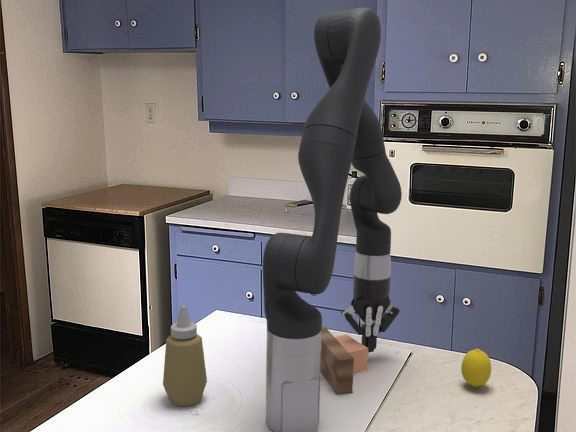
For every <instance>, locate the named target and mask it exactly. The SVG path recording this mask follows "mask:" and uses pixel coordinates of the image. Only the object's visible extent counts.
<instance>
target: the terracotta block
mask: <svg viewBox="0 0 576 432" xmlns="http://www.w3.org/2000/svg"><path fill="white" fill-rule="evenodd" d="M334 337H335V338H336V339H337V340H338V342H339V343H340V344H341V345H342V346H343V347H344V348H345V349H346V350H347V352H348V353H349V354H350V355H351V356H352V357H353V358H354V365H353V375H354V374H357V373H361V372H366V371H368V366H369V365H368V361H369V360H368V359H369V352H368V348H367V347H366V346H364V345H362V342H359V341H358V340H356V339H354V338H353V337H352V336H350V335H348V334H342V335H341V334H340V335H337V336H336V335H335V336H334Z"/></svg>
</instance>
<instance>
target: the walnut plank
mask: <svg viewBox="0 0 576 432" xmlns="http://www.w3.org/2000/svg"><path fill="white" fill-rule="evenodd" d="M335 337H336V336H334V335H333V333H332V332H330V331H329V329H328V328H327V327H326V326H322V337H321V369H320V374H322V376H323V378H325V380H326V381H327V382H328V384H329V385H330V387H331V388H332V389H333V390H334V392H335V394H336V395H344V394H352V393H353V388H354V387H353V384H354V374H353V365H354V358H353V357H352V356H351V355H350V354H349V353H348V352H347V350H346V349H345V348H344V347H343V346H342V345H341V344H340V343H339V342H338V340H337V339H336V338H335Z"/></svg>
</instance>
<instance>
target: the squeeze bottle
mask: <svg viewBox="0 0 576 432" xmlns="http://www.w3.org/2000/svg"><path fill="white" fill-rule="evenodd" d="M197 328H198V326H197V324H196V323H195V322H192V321H191V319H190V315H189V311H188V306H187V305H181V306H179V311H178V316H177V320H176V322H175V323H173V324H172V325H171V326H170V335H169V336H168V337H167V338H166V340H165V349H164V350H165V352H164V365H163V376H162V377H163V378H162V386H163V388H164V390H165V393H166V396H167V398H168V401H169V402H170V403H171V404H172V405H175V406H179V407H187V406H194V405H196V404H198V402H200V401H201V399H202V397H203V395H204V392H205V388H206V385H207V383H208V378H207V377H208V376H207V369H206V362H205V353H204V346H203V337H202V336H200V335H199V334H198V331H197V330H198V329H197Z"/></svg>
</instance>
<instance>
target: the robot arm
mask: <svg viewBox="0 0 576 432" xmlns="http://www.w3.org/2000/svg"><path fill="white" fill-rule="evenodd" d="M381 37H382V28H381V21H380V18H379V15H378V14H377V12H376V11H375V10H374V9H373V8H369V7H356V8H349V9H344V10H338V11H333V12H328V13H324V14H322V15H320V16H319V17H318V18H317V20H316V22H315V25H314V29H313V39H314V40H313V41H314V46H315V49H316V54H317V56H318V60H319V63H320V66H321V69H322V71H323V74H324V77H325V79H326V83H327V85H328V88H329V90H328V91H327V92H326V93H325V94H324V95H323V96H322V98H321V99H320V100H319V102H317V104H316V105H315V107H314V108H313V109H312V110H311V112H310V113H309V115H308V117H307V119H306V121H305V123H304V126H303V130H302V136H301V139H300V140H301V141H300V144H299V149H298V153H297V158H298V165H299V168H300V172H301V175H302V177H303V180H304V182H305V184H306V187H307V189H308V193H309V194H310V197H311V200H312V204H313V205H312V206H313V210H314V222H313V223H314V225H313V230H312V235H304V234H299V233H298V234H297V233H290V232H289V233H288V232H276V233H273V234H272V235H271V236H270V237H269V239H267V242H266V244H265V247H264V251H263V256H262V284H263V285H262V286H263V307H264V308H263V309H264V315H265V320H266V354H265V355H266V356H265V357H266V359H265V360H266V362H265V363H266V367H265V368H266V370H265V371H266V375H265V376H266V377H265V383H266V384H265V423H266V425H267V427H268V428H269V429H270V430H271V431H273V432H319V431H318V430H319V429H318V428H319V425H320V406H321V405H320V402H321V401H320V399H321V397H320V396H321V372H320V369H321V337H322V327H323V317H322V313H321V311H320V310H319V309H318V308H317V307H315V306H313V305H312V304H310V303H309V302H307V301H306V300H305V299H303V298H302V297H301V296H300V295H299V294H298V293H297V292H299V293H304V294H311V295H321V294H323V293H324V292H325V291H326V289H328V286H330V282H331V278H332V275H333V272H334V268H335V267H334V266H335V261H336V260H335V259H336V253H337V246H338V238H339V237H338V236H339V229H340V222H341V216H342V215H341V214H342V209H343V203H344V198H345V192H346V187H347V183H348V179H349V175H350V170H351V165H352V167H353V168H354V169H355V170H356V171H359V172H360V173H362V174H363V175H359V176H358V177H357V178H356V179H355V180H354V181H353V183H352V185H351V187H350V191H349V203H350V204H349V205H350V207H351V212H352V217H353V222H354V223H353V224H354V227H355V230H356V231H355V232H356V243H355V256H354V260H353V261H354V263H353V285H352V287H353V288H352V289H353V290H352V293H353V296H352V300H351V302H350V306H349V307H348V308H347V309H342V310H341V311H340V314H341V315H342V316H343V318H344V319H345V320H346V322H347V323H348V324H349V325H350V327H351V329H353V330H354V331H355V332H356V333H357V334H358V335H359V336H360V335H361V344H362V345H364V346H366V347H367V348H368V353H374V352H375V350H376V348H377V344H378V343H377V342H378V341H377V340H378V335H379V334H380V333H385V332H386V331H387V330H388V329H389V327H390V326H391V324H392V323H393V322H394V321H395V319H396V317H397V316H398V315H399V313H400V308H398V307H397V306H395V305H394V304H392V302H391V301H392V300H391V299H390V297H389V296H390V293H391V292H390V291H391V274H392V273H391V271H392V259H391V247H392V246H391V245H392V231H391V227H390V226H389V225H388V224H387V223H385V222H384V221H382V220H381V219H380V217H379V214H381V215H390V214H392V213H395V212H396V211H397V209H398V208H399V207H400V204H401V203H402V194H403V193H402V186H401V184H400V183H401V182H400V181H399V178H398V176H397V174H396V172H395V170H394V168H393V165H392V163H391V161H390V159H389V158H388V155H387V151H386V146H385V145H386V144H385V140H384V135H383V130H382V125H381V123H380V120H379V118H378V116H377V115H376V113H375V111H374V110H373V109H372V107H371V106H370V105H369V103H368V102H367V101H366V100H365V99H366V93H367V91H368V87H369V84H370V81H371V77H372V74H373V70H374V67H375V64H376V62H377V61H376V60H377V58H378V55H379V50H380V45H381V39H382V38H381ZM355 313H356V314H355ZM356 315H357V317H359V322H360V324H358V322H357V321H356V320H355V317H356Z"/></svg>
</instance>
